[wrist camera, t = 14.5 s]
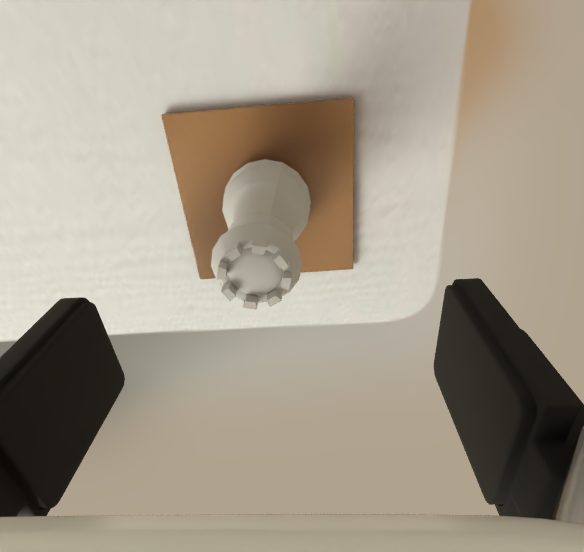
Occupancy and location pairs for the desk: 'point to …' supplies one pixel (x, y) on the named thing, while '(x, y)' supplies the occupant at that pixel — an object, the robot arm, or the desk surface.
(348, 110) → the coaster
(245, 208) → the rook chess piece
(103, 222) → the desk surface
